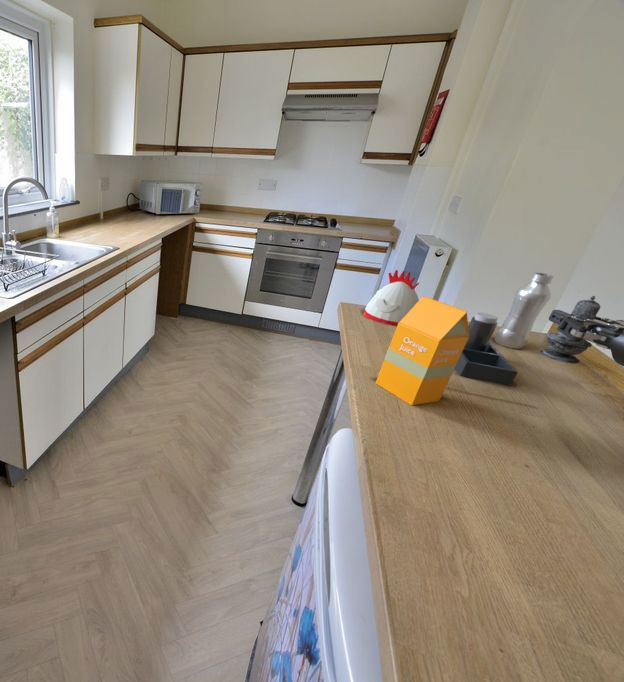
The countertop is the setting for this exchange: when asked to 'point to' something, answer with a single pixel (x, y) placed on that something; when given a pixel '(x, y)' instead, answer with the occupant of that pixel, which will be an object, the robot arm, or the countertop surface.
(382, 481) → the countertop surface
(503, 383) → the dark grey tray
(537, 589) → the countertop surface
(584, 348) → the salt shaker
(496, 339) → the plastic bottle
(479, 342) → the pepper shaker
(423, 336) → the orange juice
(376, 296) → the kitchen timer
